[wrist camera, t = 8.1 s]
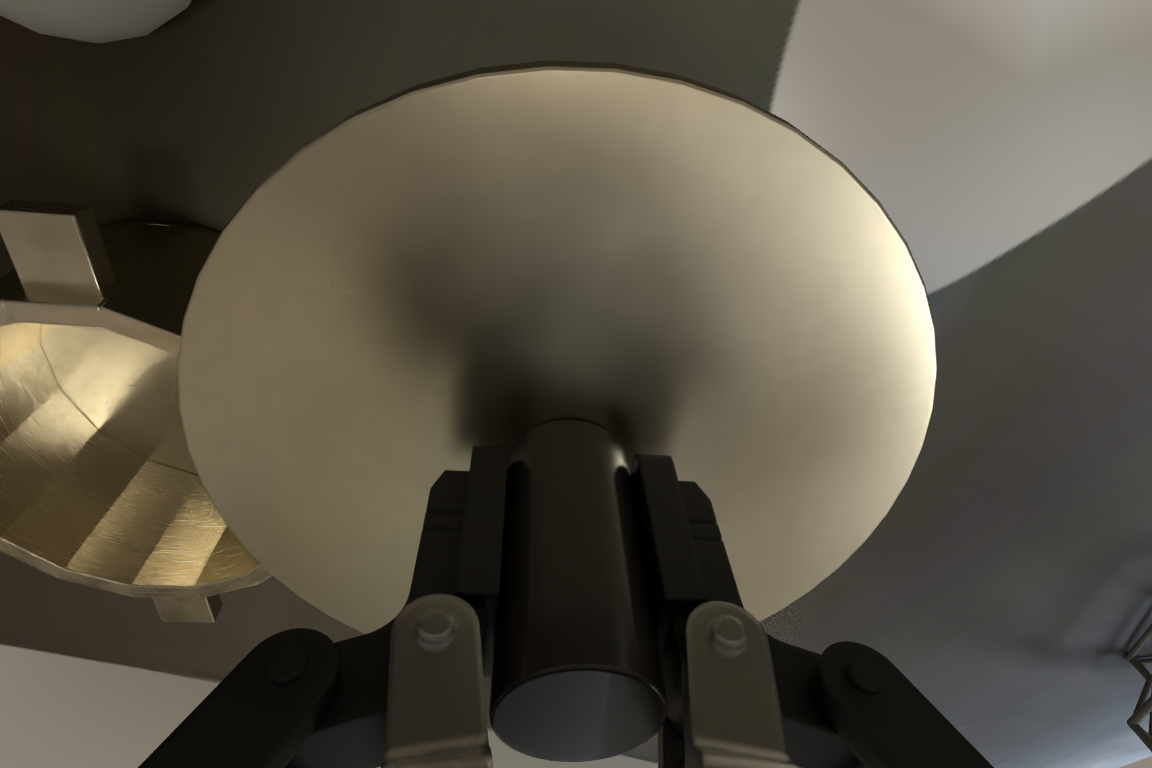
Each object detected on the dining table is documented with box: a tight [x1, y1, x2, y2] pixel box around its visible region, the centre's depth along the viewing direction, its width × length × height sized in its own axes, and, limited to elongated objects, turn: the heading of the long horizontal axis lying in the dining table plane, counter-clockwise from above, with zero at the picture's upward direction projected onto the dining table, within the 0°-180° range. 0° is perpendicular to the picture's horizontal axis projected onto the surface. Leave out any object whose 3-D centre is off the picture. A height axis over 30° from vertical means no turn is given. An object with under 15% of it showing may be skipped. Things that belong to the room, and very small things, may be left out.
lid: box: [177, 60, 937, 762], centre depth 12 cm, size 16×16×7 cm
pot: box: [0, 200, 272, 622], centre depth 27 cm, size 15×20×8 cm
